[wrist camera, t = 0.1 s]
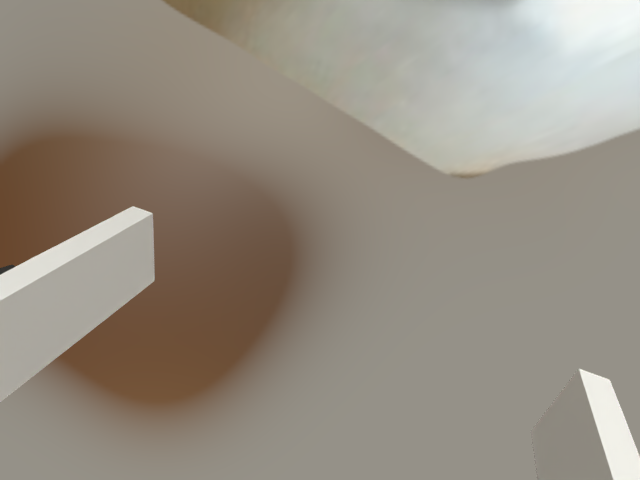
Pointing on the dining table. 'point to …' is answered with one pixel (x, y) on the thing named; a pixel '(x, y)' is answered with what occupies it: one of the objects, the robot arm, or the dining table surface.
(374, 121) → the dining table surface
